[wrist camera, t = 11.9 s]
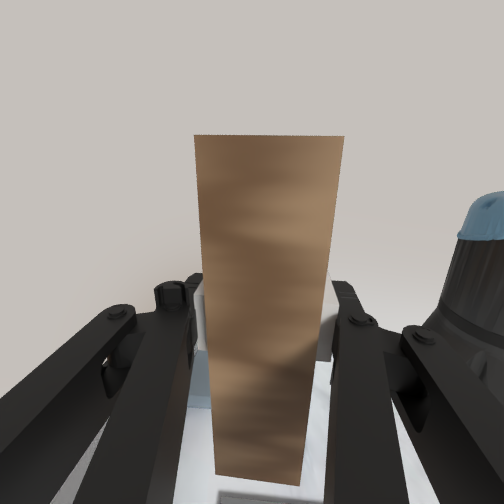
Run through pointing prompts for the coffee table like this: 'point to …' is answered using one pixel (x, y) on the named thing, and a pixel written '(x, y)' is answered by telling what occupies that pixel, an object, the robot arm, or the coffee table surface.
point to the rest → (244, 501)
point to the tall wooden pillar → (264, 291)
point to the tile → (200, 382)
